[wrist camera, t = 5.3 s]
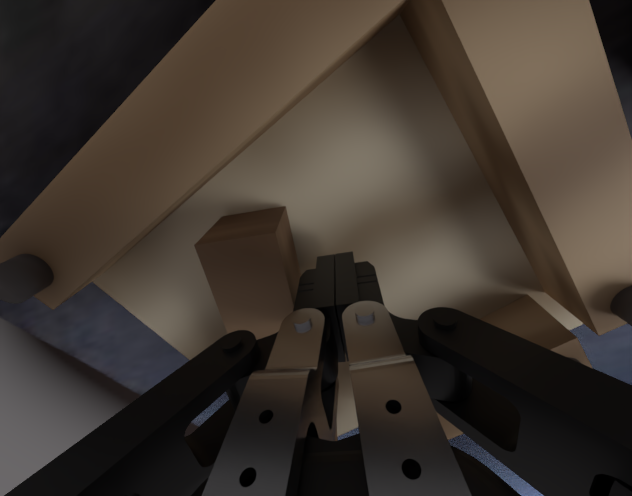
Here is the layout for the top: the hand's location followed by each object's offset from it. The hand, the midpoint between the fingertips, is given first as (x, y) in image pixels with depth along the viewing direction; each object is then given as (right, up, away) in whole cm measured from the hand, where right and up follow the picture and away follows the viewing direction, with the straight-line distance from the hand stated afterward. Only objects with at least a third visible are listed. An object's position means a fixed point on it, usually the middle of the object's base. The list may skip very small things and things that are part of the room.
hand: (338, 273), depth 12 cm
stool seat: (0, +1, +3) cm, 3 cm away
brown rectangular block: (-2, -4, +3) cm, 6 cm away
